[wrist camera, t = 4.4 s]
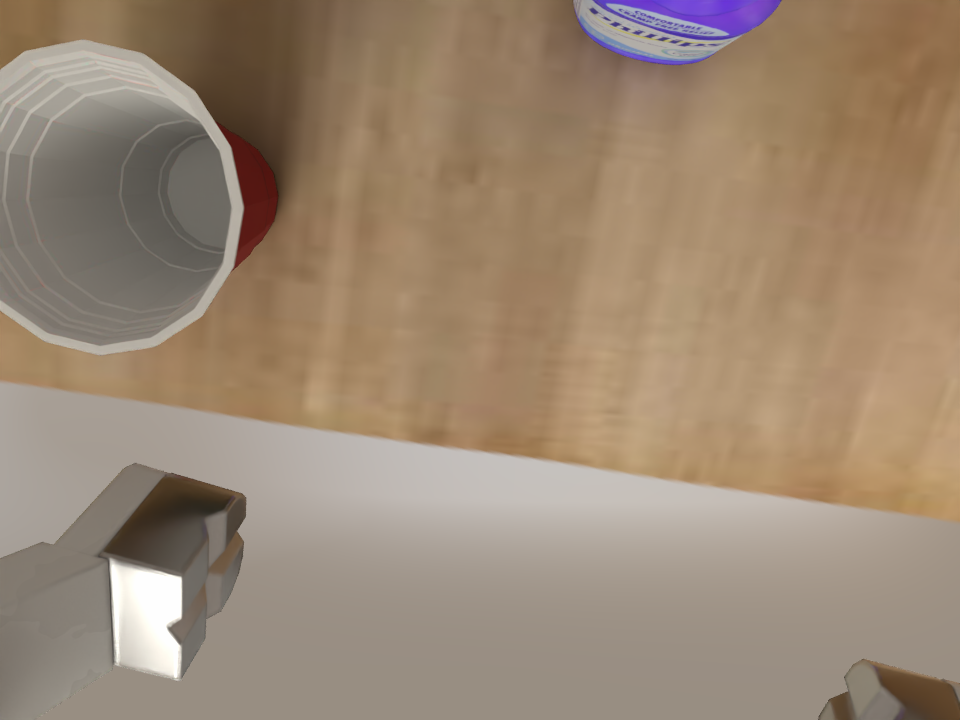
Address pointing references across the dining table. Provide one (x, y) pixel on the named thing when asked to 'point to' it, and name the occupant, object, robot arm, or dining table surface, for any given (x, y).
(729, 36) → the bottle
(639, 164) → the dining table surface
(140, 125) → the plastic cup
